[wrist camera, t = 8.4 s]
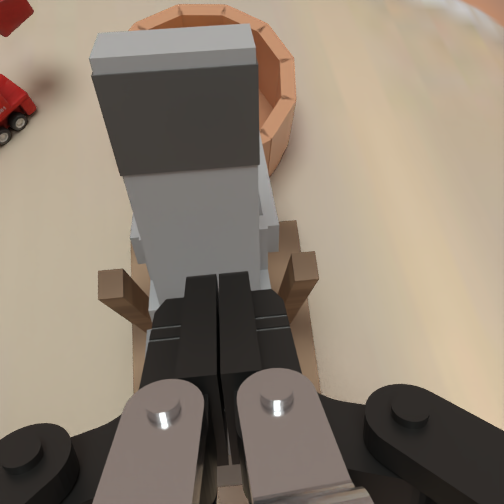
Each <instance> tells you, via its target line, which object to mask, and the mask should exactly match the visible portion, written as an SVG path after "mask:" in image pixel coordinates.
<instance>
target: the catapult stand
mask: <svg viewBox="0 0 504 504" xmlns="http://www.w3.org/2000/svg"><path fill="white" fill-rule="evenodd" d="M268 273H269V279H270V285H271V289H272V290H274V291H275V292H276V293H277V294H278V295H279V296H280V297H281V298H282V299H283V300H284V304H285V308H286V312H287V316H288V320H289V324H290V328H291V332H292V336H293V340H294V344H295V348H296V352H297V356H298V359H299V363H300V367H301V371H302V374H303V375H304V376H306V377H307V378H308V379H309V380H310V381H311V382H312V383H313V385H314V387H315V389H316V391H317V392H318V393H320V394H321V391H320V384H319V377H318V370H317V362H316V355H315V348H314V341H313V334H312V327H311V320H310V313H309V306H308V299H307V297H308V295H309V294H310V292H311V291H312V289H313V288H314V286H315V284H316V283H317V281H318V280H319V275H318V269H317V262H316V255H315V251H312V252H301V250H300V243H299V236H298V229H297V222H296V220H294V221H282V222H279V252H268ZM150 282H151V280H150V276H149V273H148V270H147V266H146V264H138V262H137V259H136V256H135V253H134V249H133V246H132V243H131V277H130V276H129V275H128V274H127V273H126V272H125V270H124V269H113V270H102V271H98V300H100V301H101V302H102V303H104V304H105V305H107V306H108V307H110V308H111V309H113V310H114V311H115V312H117V313H118V314H120V315H121V316H123V317H124V318H126V319H127V320H128V321H130V322H131V323H132V335H133V389H134V394H135V393H136V392H137V391H138V390H139V386H140V381H141V376H142V371H143V367H144V362H145V350H146V336H147V330H149V329H152V323H153V322H152V321H151V317H150V314H149V311H148V309H149V296H150Z"/></svg>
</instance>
